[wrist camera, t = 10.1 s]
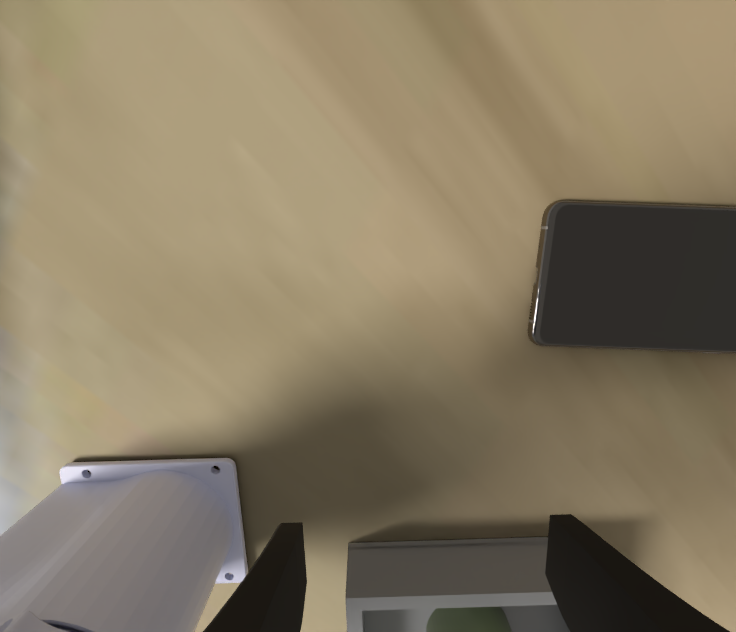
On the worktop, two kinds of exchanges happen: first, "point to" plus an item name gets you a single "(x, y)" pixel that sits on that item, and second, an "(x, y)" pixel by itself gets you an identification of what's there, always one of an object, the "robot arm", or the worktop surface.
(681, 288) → the smartphone
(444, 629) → the green cylinder
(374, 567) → the grey bin
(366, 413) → the worktop surface
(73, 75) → the worktop surface
